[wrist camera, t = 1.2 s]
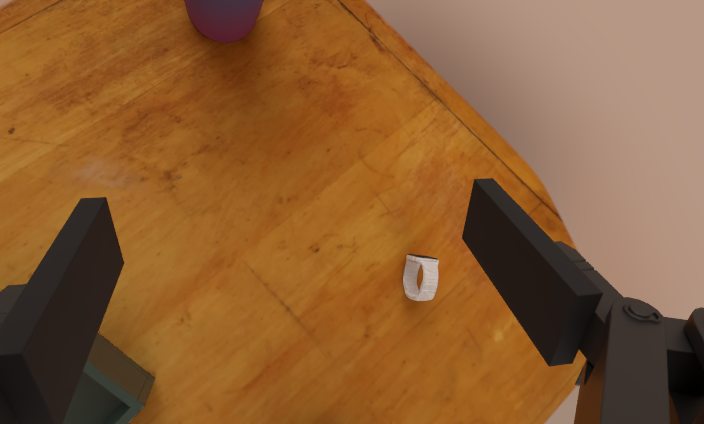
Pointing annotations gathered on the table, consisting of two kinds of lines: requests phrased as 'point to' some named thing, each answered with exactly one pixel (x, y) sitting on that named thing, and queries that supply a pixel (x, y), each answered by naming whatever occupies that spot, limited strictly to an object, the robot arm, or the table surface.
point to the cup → (224, 17)
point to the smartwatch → (429, 277)
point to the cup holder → (109, 387)
